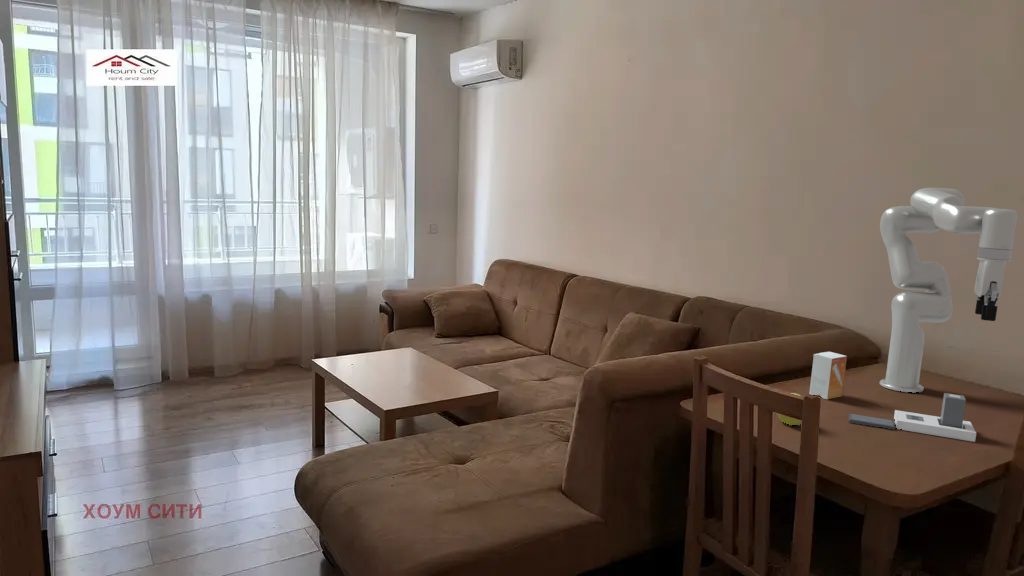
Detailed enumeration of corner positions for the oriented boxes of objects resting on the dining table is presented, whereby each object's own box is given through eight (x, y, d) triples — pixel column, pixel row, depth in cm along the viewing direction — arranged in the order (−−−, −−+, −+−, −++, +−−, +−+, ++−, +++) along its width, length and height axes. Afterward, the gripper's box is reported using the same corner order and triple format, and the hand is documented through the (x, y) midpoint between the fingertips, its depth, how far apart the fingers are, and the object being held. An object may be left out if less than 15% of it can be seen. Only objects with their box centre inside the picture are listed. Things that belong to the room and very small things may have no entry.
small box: (827, 400, 211) (832, 358, 209) (808, 394, 216) (813, 353, 214) (842, 396, 216) (847, 355, 214) (824, 391, 221) (828, 350, 219)
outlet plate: (893, 418, 197) (895, 409, 196) (969, 430, 189) (970, 421, 189) (896, 428, 188) (897, 419, 187) (975, 442, 180) (976, 432, 180)
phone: (848, 416, 197) (849, 413, 197) (893, 423, 192) (893, 420, 192) (848, 422, 191) (849, 419, 191) (894, 430, 187) (894, 426, 187)
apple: (812, 419, 190) (812, 387, 186) (800, 434, 185) (799, 401, 181) (784, 411, 195) (782, 380, 192) (771, 426, 190) (769, 394, 187)
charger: (939, 428, 190) (944, 392, 188) (958, 431, 188) (963, 395, 186) (940, 433, 186) (945, 396, 184) (960, 436, 184) (965, 399, 182)
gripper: (972, 251, 197) (964, 310, 200) (983, 256, 182) (973, 321, 184) (1004, 253, 194) (995, 314, 196) (1017, 259, 178) (1007, 324, 181)
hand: (984, 317), depth 190 cm, fingers open, 9 cm apart
